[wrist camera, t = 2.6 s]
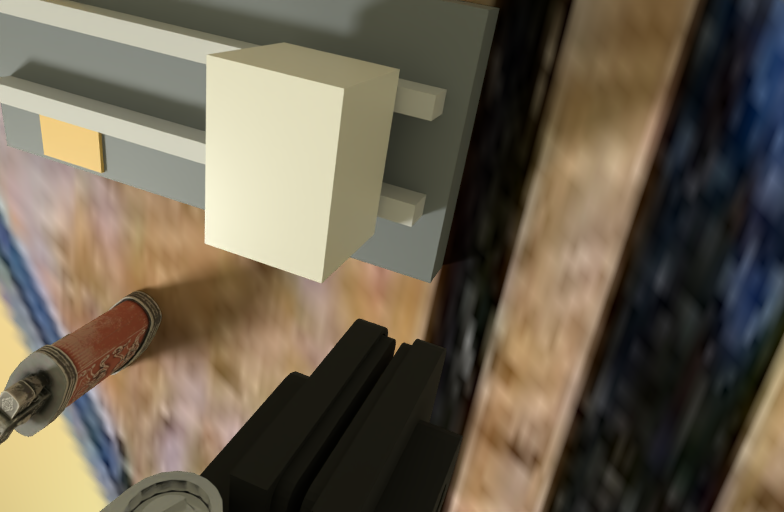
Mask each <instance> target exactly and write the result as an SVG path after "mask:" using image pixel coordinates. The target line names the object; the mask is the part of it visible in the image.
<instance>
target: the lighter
mask: <svg viewBox="0 0 784 512" xmlns="http://www.w3.org/2000/svg"><path fill="white" fill-rule="evenodd" d="M161 318H162V315H161V311H160V309H159V307H158V305H157V303H156V302H155V301H154V300H153V299H152V298H151V297H150V296H149V295H147V294H146V293H143V292H141V291H135V292H132V293H131V294H129V295H127V296H126V297H124V298H123V299H121V300H120V301H119V302H118V303H116V304H115V305H114V306H112V307H111V308H110V309H109V310H108V311H107V312H106V313H104V314H102V315H101V316H99V317H98V318H96V319H94V320H93V321H91V322H89V323H88V324H86V325H84V326H83V327H81V328H80V329H78V330H76V331H75V332H73V333H71V334H68V335H66V336H65V337H63V338H61V339H60V340H58V341H56V342H55V343H53V344H52V345H46V346H43V347H42V348H40V349H38V350H37V351H35V352H33V353H32V354H31V355H29V356H28V357H27V358H26V359H25V360H23V361H22V362H21V363H20V364H19V365H18V367H17V368H16V369H15V370H14V372H13V373H12V374H11V376H10V378H9V380H8V383H7V385H6V387H5V389H4V391H3V392H2V393H1V395H0V444H1V443H3V442H4V441H5V440H6V439H8V437H9V436H10V434H11V433H12V431H13V430H14V429H15V430H16V431H17V432H18V433H20V434H22V435H24V436H28V437H29V436H33V435H34V434H36V433H37V432H39V431H40V430H42V429H43V428H45V427H46V426H47V425H48V424H50V423H51V422H53V421H54V420H55V419H56V418H57V417H58V416H59V415H60V414H61V413H62V412H63V411H64V409H65V408H66V407H67V406H69V405H70V404H71V403H73V402H74V401H75V400H77V399H78V398H80V397H81V396H82V395H84V394H85V393H86V392H88V391H89V390H90V389H92V388H93V387H95V386H96V385H97V384H99V383H100V382H101V381H103V380H104V379H105V378H107V377H108V376H109V375H114V374H116V373H118V372H119V371H121V370H122V369H124V368H125V367H127V366H128V365H129V364H131V363H132V362H133V361H135V360H136V359H137V358H138V357H139V356H140V355H141V354H142V353H143V352H144V351H145V350H146V349H147V347H148V346H149V344H150V343H151V341H152V339H153V338H154V336H155V334H156V332H157V329H158V327H159V325H160V322H161Z"/></svg>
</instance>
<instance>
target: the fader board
mask: <svg viewBox="0 0 784 512" xmlns="http://www.w3.org/2000/svg"><path fill="white" fill-rule="evenodd" d="M498 13H499V8H496V7H491V6H486V5H481V4H475V3H470V2H465V1H460V0H0V103H1V107H2V114H3V120H4V127H5V133H6V140H7V146H10V147H13V148H16V149H19V150H22V151H25V152H28V153H31V154H34V155H37V156H41V157H44V158H47V159H50V160H53V161H56V162H59V163H62V164H65V165H68V166H71V167H74V168H77V169H81V170H84V171H87V172H90V173H93V174H96V175H99V176H102V177H105V178H108V179H111V180H114V181H117V182H121V183H124V184H127V185H130V186H133V187H136V188H139V189H142V190H145V191H148V192H151V193H154V194H157V195H161V196H164V197H167V198H170V199H173V200H176V201H179V202H182V203H185V204H188V205H191V206H194V207H197V208H201V209H204V210H205V165H206V55H207V54H213V53H220V52H226V51H232V50H239V49H245V48H251V47H258V46H264V45H270V44H277V43H283V42H285V43H289V44H293V45H298V46H302V47H306V48H311V49H315V50H319V51H323V52H328V53H332V54H336V55H341V56H345V57H349V58H354V59H358V60H362V61H366V62H371V63H375V64H379V65H384V66H388V67H392V68H397V69H400V72H399V79H398V85H397V92H396V98H395V104H394V111H393V117H392V123H391V130H390V136H389V143H388V149H387V155H386V162H385V168H384V174H383V181H382V187H381V194H380V200H379V206H378V213H377V219H376V225H375V232H374V235H373V236H372V237H370V238H369V239H368V240H367V241H366V242H365V243H364V244H363V245H362V246H361V247H360V248H359V249H358V250H357V251H356V252H355V253H353V254H352V255H351V256H350V257H351V258H354V259H357V260H360V261H364V262H367V263H370V264H373V265H376V266H379V267H382V268H385V269H388V270H391V271H394V272H397V273H400V274H403V275H407V276H410V277H413V278H416V279H419V280H422V281H425V282H428V283H431V281H432V280H433V278H434V277H435V276H436V274H437V273H438V271H439V270H440V268H441V267H442V265H443V260H444V256H445V251H446V247H447V242H448V238H449V233H450V229H451V224H452V220H453V215H454V211H455V206H456V202H457V197H458V193H459V188H460V184H461V179H462V175H463V170H464V166H465V161H466V157H467V152H468V148H469V143H470V139H471V134H472V130H473V125H474V121H475V116H476V112H477V107H478V103H479V98H480V94H481V89H482V85H483V80H484V76H485V71H486V67H487V62H488V58H489V53H490V49H491V44H492V40H493V35H494V31H495V26H496V22H497V17H498Z"/></svg>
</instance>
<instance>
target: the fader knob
mask: <svg viewBox="0 0 784 512" xmlns="http://www.w3.org/2000/svg"><path fill="white" fill-rule="evenodd" d="M399 72H400V69H397V68H392V67H388V66H384V65H379V64H375V63H371V62H366V61H362V60H358V59H354V58H349V57H345V56H341V55H336V54H332V53H328V52H323V51H319V50H315V49H311V48H306V47H302V46H298V45H293V44H289V43H285V42H283V43H277V44H270V45H264V46H258V47H251V48H245V49H239V50H232V51H226V52H220V53H213V54H207V55H206V165H205V244H208V245H211V246H214V247H217V248H220V249H223V250H226V251H229V252H231V253H234V254H237V255H240V256H243V257H246V258H249V259H252V260H255V261H258V262H261V263H264V264H267V265H270V266H272V267H275V268H278V269H281V270H284V271H287V272H290V273H293V274H296V275H299V276H302V277H305V278H308V279H310V280H313V281H316V282H319V283H323V282H324V281H325V280H326V279H327V278H328V277H329V276H330V275H331V274H332V273H333V272H334V271H335V270H336V269H337V268H339V267H340V266H341V265H342V264H343V263H344V262H345V261H346V260H347V259H348V258H349V257H350V256H351V255H352V254H353V253H355V252H356V251H357V250H358V249H359V248H360V247H361V246H362V245H363V244H364V243H365V242H366V241H367V240H368V239H369V238H370V237H372V236H373V235H374V232H375V225H376V219H377V213H378V206H379V200H380V194H381V187H382V181H383V174H384V168H385V162H386V155H387V149H388V143H389V136H390V130H391V123H392V117H393V111H394V104H395V98H396V92H397V85H398V79H399Z"/></svg>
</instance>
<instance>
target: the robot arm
mask: <svg viewBox="0 0 784 512" xmlns="http://www.w3.org/2000/svg"><path fill="white" fill-rule="evenodd" d="M395 345H396V340H395V339H393V338H390V337H388V329H387V328H385V327H383V326H380V325H377V324H374V323H371V322H368V321H365V320H363V319H357V320H356V321H355V322H354V323H353V325H352V326H351V327H350V328H349V329H348V331H347V332H346V333H345V334H344V336H343V337H342V338H341V339H340V340H339V342H338V343H337V344H336V345H335V346H334V348H333V349H332V350H331V351H330V353H329V354H328V355H327V356H326V357H325V359H324V360H323V361H322V362H321V364H320V365H319V366H318V367H317V368H316V370H315V371H314V372H313V373H312V375H311V376H310V377H309V376H306V375H303V374H301V373H298V372H296V371H295V372H292V373H290V374H289V375H288V376H287V377H286V378H285V379H284V380H283V381H282V382H281V384H280V385H279V386H278V387H277V388H276V389H275V390H274V392H273V393H272V394H271V395H270V396H269V397H268V398H267V400H266V401H265V402H264V403H263V404H262V405H261V406H260V408H259V409H258V410H257V411H256V412H255V413H254V414H253V416H252V417H251V418H250V419H249V420H248V421H247V422H246V423H245V425H244V426H243V427H242V428H241V429H240V430H239V431H238V433H237V434H236V435H235V436H234V437H233V438H232V439H231V441H230V442H229V443H228V444H227V445H226V446H225V447H224V449H223V450H222V451H221V452H220V453H219V454H218V455H217V456H216V458H215V459H214V460H213V461H212V462H211V463H210V464H209V466H208V467H207V468H206V469H205V470H204V471H203V472H202V474H201V475H200V476H199V475H197V474H195V473H190V472H183V471H173V472H163V473H159V474H156V475H153V476H150V477H147V478H145V479H143V480H142V481H140V482H138V483H137V484H135V485H133V486H132V487H130V488H129V489H128V490H126V491H125V492H124V493H123V494H121V495H120V496H119V497H118V498H116V499H115V500H114V501H113V502H111V503H110V504H109V505H107V506H106V507H105V508H104V509H102V510H101V511H100V512H440V509H441V506H442V504H443V501H444V498H445V495H446V492H447V489H448V486H449V483H450V480H451V476H452V473H453V470H454V466H455V463H456V459H457V456H458V452H459V449H460V445H461V441H462V437H463V436H461V435H459V434H456V433H454V432H451V431H449V430H446V429H443V428H441V427H438V426H436V425H433V424H430V423H429V421H430V417H431V413H432V409H433V405H434V401H435V397H436V393H437V389H438V384H439V380H440V376H441V372H442V368H443V364H444V360H445V355H446V349H445V348H443V347H440V346H437V345H434V344H431V343H428V342H425V341H423V340H420V339H416V340H415V342H414V343H413V345H409V344H407V343H402V344H401V346H400V347H399V349H398V350H397V352H396V354H395V355H394V350H395ZM393 356H394V357H393Z"/></svg>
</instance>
